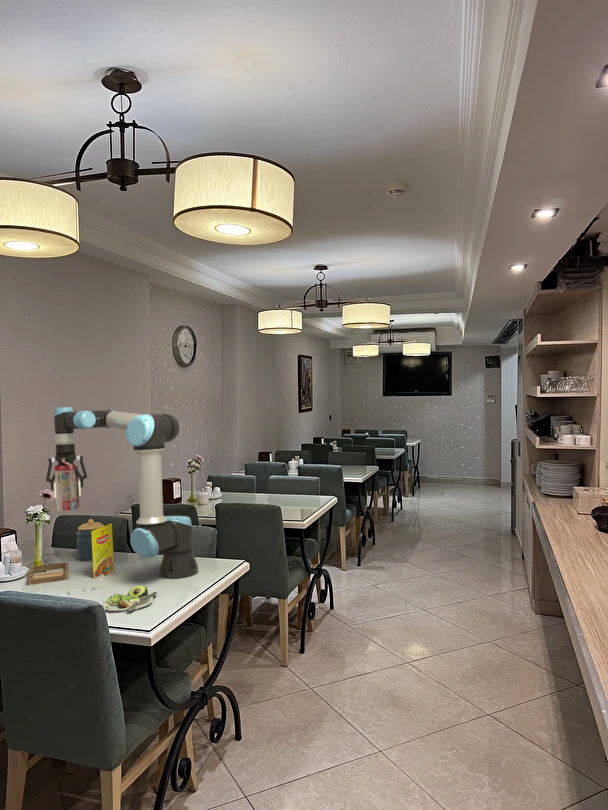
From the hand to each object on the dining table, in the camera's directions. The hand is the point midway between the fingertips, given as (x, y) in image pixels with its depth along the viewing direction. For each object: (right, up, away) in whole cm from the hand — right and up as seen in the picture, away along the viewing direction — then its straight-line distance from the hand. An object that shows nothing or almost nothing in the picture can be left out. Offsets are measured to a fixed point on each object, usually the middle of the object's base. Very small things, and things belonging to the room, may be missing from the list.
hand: (67, 496), depth 250 cm
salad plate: (+40, -30, -47) cm, 68 cm away
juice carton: (0, -6, 0) cm, 6 cm away
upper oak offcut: (0, -30, -17) cm, 35 cm away
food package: (+19, -31, -12) cm, 38 cm away
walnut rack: (-3, -31, -12) cm, 34 cm away
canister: (+3, -31, +20) cm, 38 cm away
